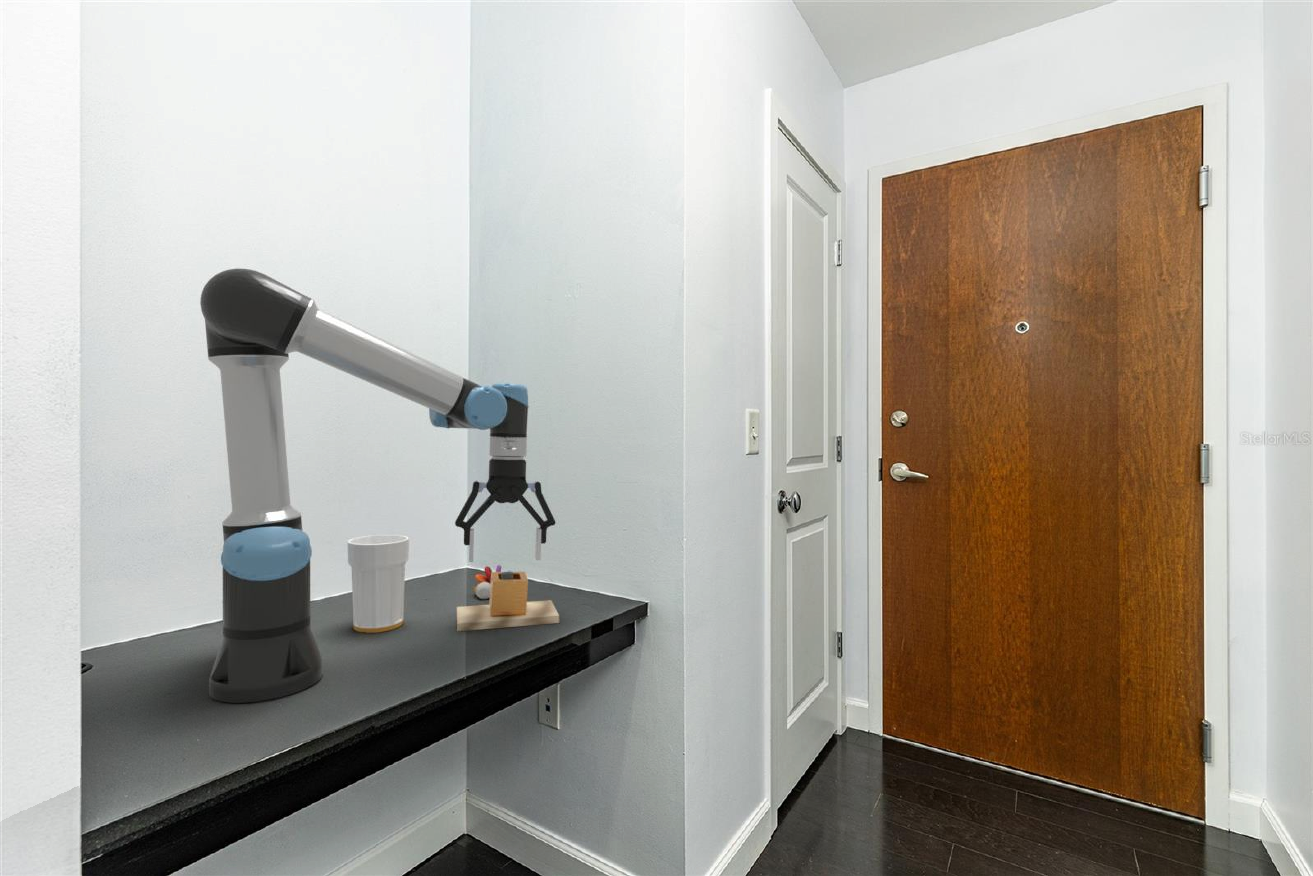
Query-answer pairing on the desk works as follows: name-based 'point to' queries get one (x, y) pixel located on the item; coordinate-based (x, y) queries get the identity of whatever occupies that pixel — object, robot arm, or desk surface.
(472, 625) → the keeper
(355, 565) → the cup
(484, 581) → the colorful toy
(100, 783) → the desk surface
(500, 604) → the wooden pen holder
